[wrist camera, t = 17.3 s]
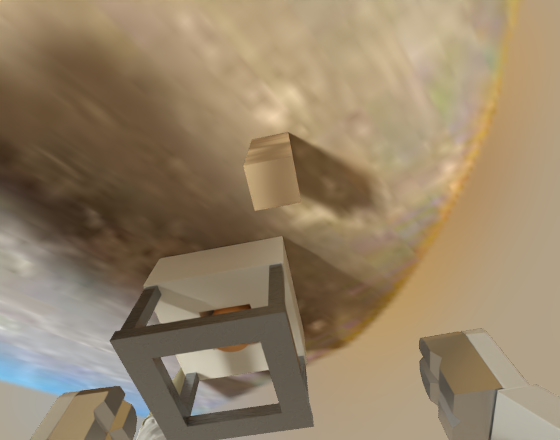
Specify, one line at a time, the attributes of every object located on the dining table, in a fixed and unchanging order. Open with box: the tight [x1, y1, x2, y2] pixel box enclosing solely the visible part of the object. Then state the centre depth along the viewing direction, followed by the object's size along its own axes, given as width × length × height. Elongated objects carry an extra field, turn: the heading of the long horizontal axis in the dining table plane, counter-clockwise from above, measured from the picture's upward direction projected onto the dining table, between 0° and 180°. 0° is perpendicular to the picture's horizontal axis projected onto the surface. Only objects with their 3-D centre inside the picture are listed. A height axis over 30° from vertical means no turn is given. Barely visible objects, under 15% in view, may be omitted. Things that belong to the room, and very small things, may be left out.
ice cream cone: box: [136, 368, 185, 440], centre depth 37 cm, size 5×5×15 cm
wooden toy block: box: [243, 132, 301, 211], centre depth 27 cm, size 4×4×9 cm
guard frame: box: [110, 263, 314, 440], centre depth 31 cm, size 14×14×7 cm
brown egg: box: [213, 304, 251, 352], centre depth 35 cm, size 4×4×5 cm
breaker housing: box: [143, 236, 307, 380], centre depth 36 cm, size 14×14×5 cm
